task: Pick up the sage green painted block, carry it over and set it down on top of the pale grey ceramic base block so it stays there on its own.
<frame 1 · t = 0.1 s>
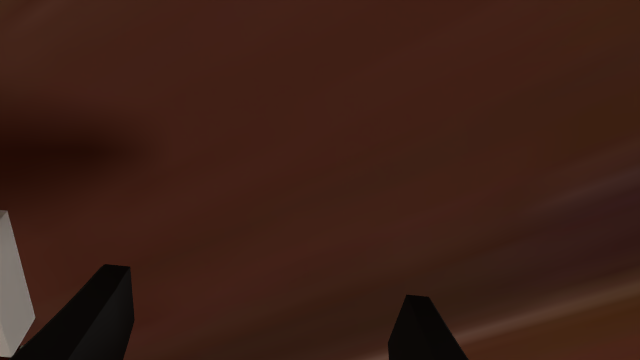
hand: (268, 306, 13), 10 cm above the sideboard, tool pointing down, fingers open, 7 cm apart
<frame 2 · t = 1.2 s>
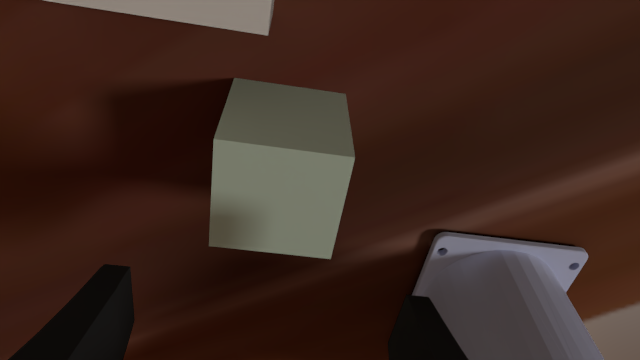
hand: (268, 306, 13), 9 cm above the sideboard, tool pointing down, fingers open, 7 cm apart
green block: (283, 133, 20), on the sideboard
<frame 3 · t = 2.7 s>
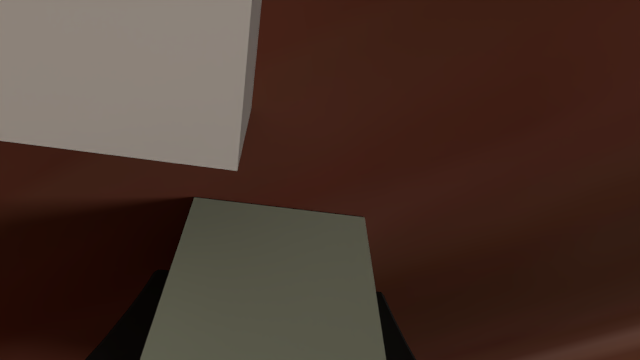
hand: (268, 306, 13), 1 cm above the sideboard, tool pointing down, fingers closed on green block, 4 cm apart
green block: (271, 268, 14), on the sideboard, touching gripper
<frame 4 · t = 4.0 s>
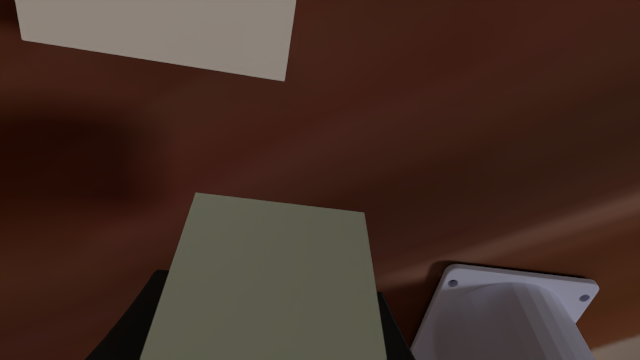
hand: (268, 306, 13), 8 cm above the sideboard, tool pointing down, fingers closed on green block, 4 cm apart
green block: (272, 263, 14), point 7 cm above the sideboard, touching gripper
when the fingers open (5 cm above the sideboard, at t = 5.7 s): green block drops 1 cm, point 3 cm above the sideboard.
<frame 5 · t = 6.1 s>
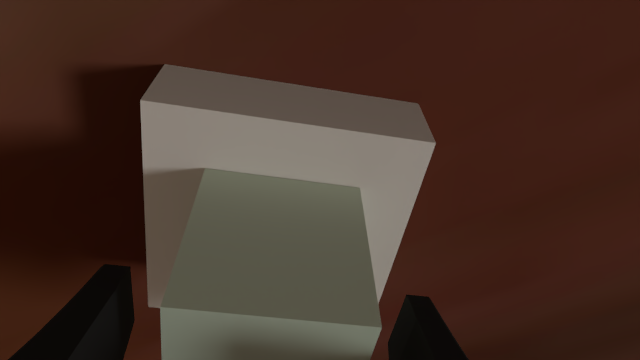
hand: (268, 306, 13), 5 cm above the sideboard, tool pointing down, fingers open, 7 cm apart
grey base: (279, 180, 17), on the sideboard
green block: (275, 236, 15), point 3 cm above the sideboard
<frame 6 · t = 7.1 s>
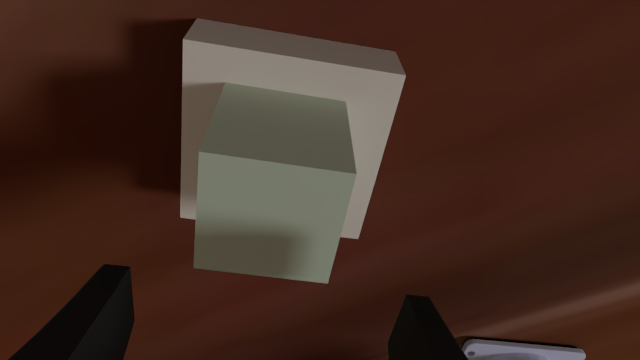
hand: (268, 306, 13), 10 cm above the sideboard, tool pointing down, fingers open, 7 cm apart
grey base: (285, 118, 22), on the sideboard, touching green block
green block: (278, 144, 19), point 3 cm above the sideboard, touching grey base
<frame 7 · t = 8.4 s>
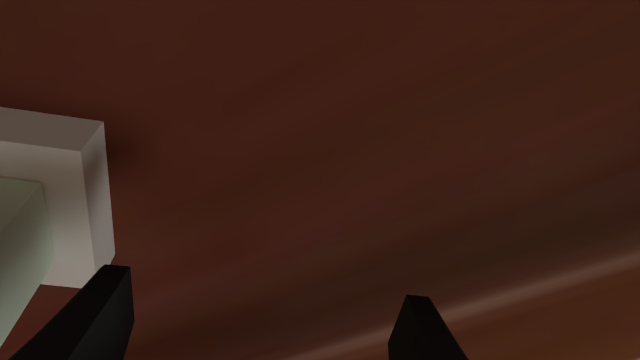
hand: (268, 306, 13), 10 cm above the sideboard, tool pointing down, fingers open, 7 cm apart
grey base: (27, 177, 23), on the sideboard
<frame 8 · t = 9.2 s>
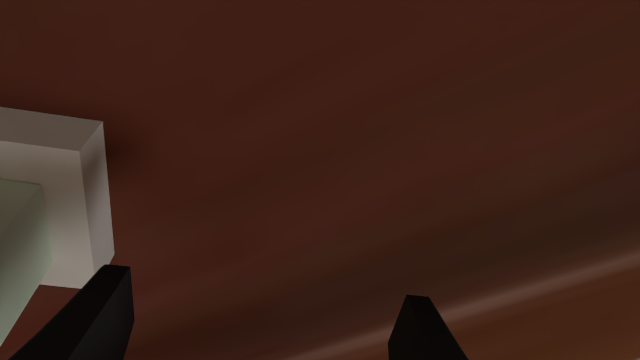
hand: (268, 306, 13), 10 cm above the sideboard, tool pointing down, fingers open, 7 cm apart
grey base: (26, 177, 23), on the sideboard
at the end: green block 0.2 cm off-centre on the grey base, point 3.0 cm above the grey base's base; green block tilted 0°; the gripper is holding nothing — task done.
